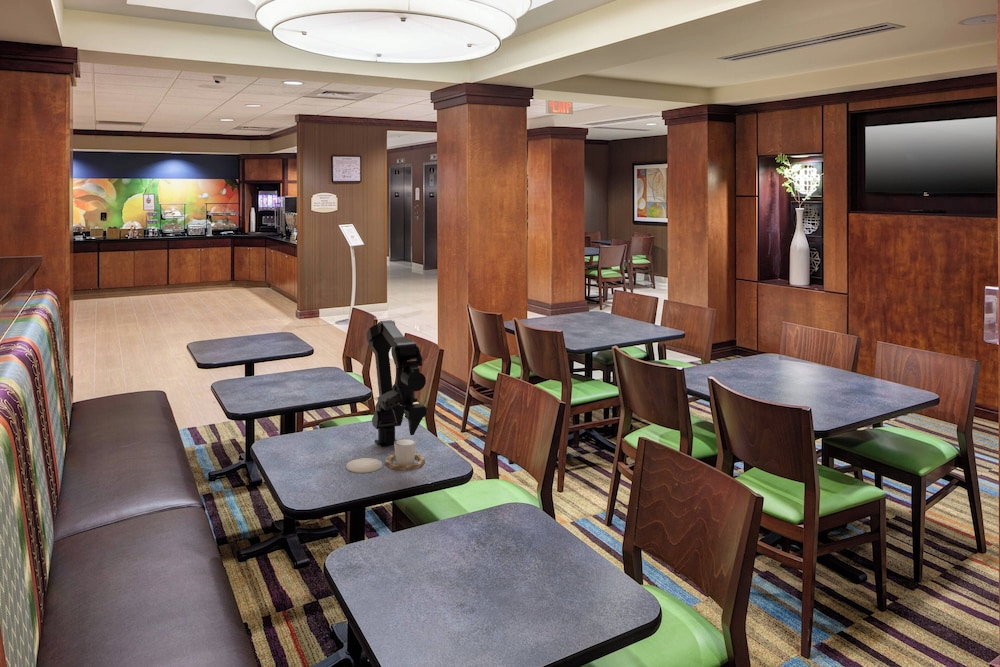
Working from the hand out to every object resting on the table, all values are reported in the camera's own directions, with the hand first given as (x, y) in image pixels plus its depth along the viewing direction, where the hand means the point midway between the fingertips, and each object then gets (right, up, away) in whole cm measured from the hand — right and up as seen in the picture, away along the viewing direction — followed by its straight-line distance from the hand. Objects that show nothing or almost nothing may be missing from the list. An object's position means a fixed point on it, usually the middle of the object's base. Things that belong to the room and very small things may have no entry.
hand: (405, 430), depth 223 cm
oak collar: (0, -11, +2) cm, 11 cm away
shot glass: (0, -11, +2) cm, 11 cm away
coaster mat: (-13, -11, -1) cm, 17 cm away
